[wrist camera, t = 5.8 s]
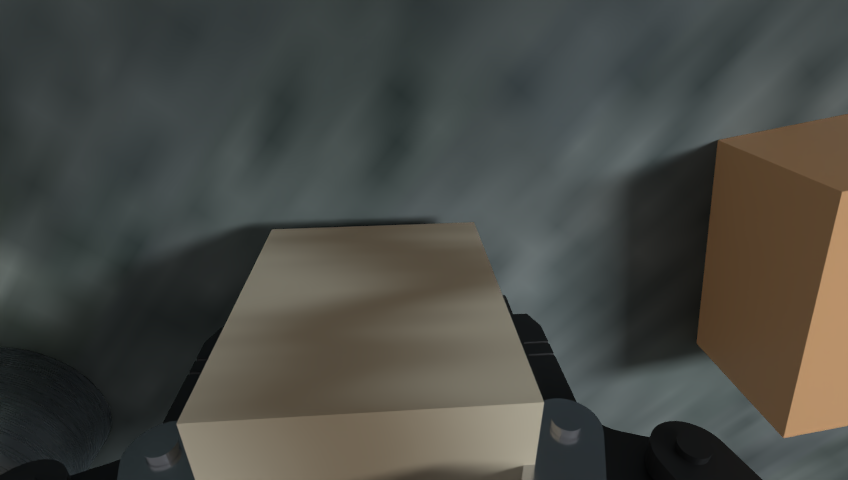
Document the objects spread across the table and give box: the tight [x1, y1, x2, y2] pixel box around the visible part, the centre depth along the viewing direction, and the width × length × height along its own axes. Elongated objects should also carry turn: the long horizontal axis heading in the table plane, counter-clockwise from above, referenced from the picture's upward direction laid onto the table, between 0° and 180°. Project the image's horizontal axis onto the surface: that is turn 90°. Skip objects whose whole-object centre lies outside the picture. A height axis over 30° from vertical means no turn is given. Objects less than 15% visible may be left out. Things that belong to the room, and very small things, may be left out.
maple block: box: [176, 222, 544, 480], centre depth 10 cm, size 5×5×6 cm
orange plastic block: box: [697, 114, 848, 438], centre depth 13 cm, size 4×7×4 cm, turn 10°
